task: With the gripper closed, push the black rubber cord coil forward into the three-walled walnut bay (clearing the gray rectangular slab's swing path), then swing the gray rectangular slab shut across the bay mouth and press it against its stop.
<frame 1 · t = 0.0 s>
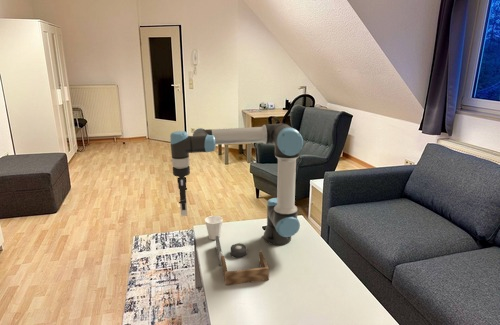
hand: (184, 209, 161), 28 cm above the table, fingers open, 13 cm apart
coil: (238, 253, 176), on the table
bay: (241, 264, 167), on the table
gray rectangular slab: (219, 249, 173), point 4 cm above the table, hinge at 90.0°
cup: (214, 237, 192), on the table
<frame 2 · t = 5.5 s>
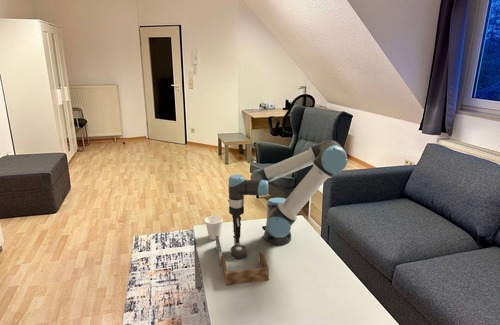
hand: (236, 247, 179), 2 cm above the table, fingers closed
coil: (239, 254, 175), on the table, touching gripper
everything else where it was.
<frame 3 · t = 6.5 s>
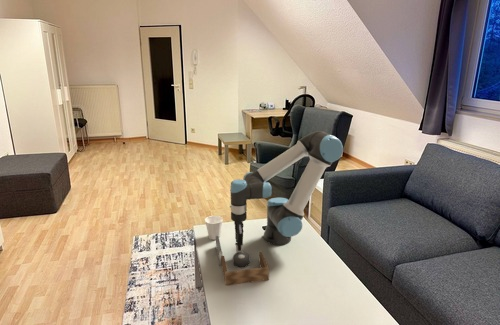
hand: (239, 254, 172), 2 cm above the table, fingers closed
coil: (241, 262, 168), on the table, touching gripper
everything else where it was.
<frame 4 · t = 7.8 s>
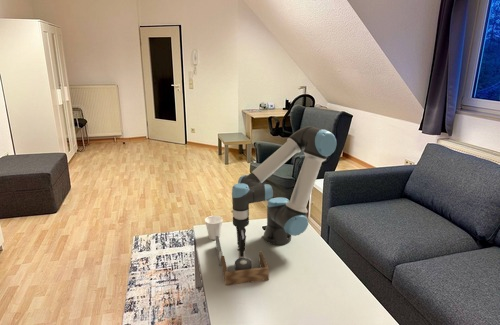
hand: (241, 260, 167), 1 cm above the table, fingers closed
coil: (243, 268, 163), on the table, touching gripper
everything else where it was.
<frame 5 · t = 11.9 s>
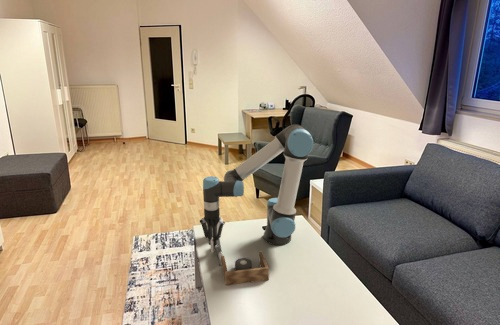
hand: (213, 250, 175), 2 cm above the table, fingers closed
coil: (243, 269, 163), on the table
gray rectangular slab: (219, 249, 173), point 4 cm above the table, hinge at 89.3°, touching gripper
everything else where it was.
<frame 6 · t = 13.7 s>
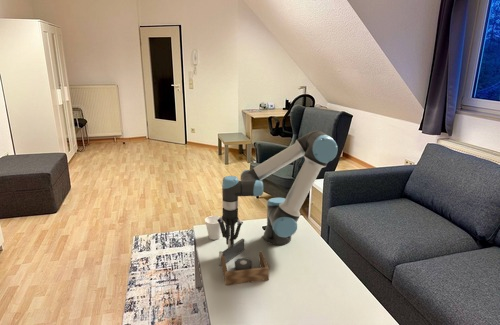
hand: (230, 250, 175), 2 cm above the table, fingers closed
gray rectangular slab: (232, 250, 171), point 4 cm above the table, hinge at 42.8°, touching gripper
everything else where it was.
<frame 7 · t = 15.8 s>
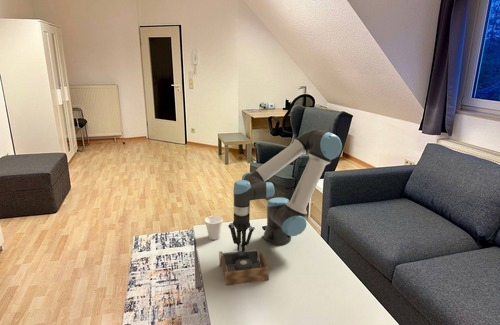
hand: (241, 256, 169), 2 cm above the table, fingers closed
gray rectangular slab: (238, 256, 166), point 4 cm above the table, hinge at -0.4°, touching gripper
everything else where it was.
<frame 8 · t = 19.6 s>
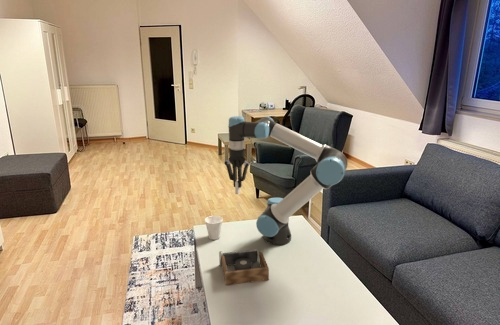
hand: (237, 193, 176), 29 cm above the table, fingers closed
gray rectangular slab: (238, 256, 166), point 4 cm above the table, hinge at -0.4°
everything else where it was.
at the end: coil inside the target area (2.8 cm from its centre), on the table; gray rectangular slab at +0° (first picture: +90°); coil touching table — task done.
